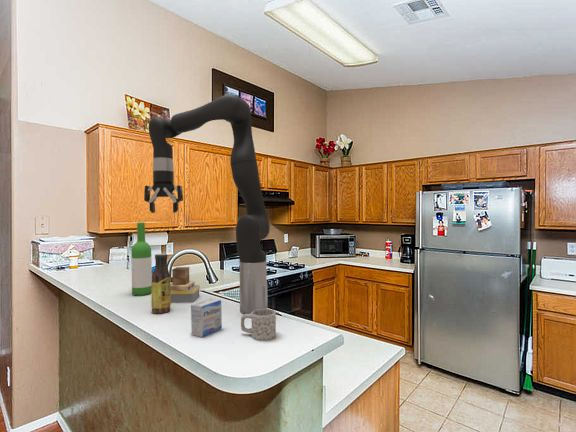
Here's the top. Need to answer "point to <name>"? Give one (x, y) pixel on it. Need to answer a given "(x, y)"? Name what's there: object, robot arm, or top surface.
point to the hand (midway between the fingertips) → (163, 212)
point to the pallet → (182, 286)
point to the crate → (180, 275)
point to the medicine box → (206, 317)
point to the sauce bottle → (161, 286)
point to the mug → (261, 324)
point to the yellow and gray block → (186, 294)
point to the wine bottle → (141, 264)
